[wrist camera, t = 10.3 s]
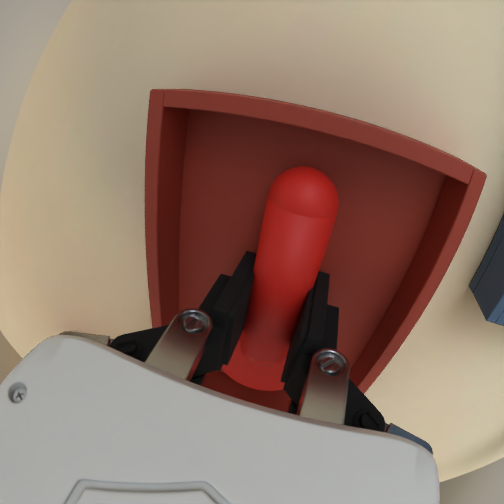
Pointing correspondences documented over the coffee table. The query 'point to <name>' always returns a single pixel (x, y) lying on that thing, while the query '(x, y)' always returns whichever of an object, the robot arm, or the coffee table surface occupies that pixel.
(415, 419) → the coffee table surface
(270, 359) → the red spoon
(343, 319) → the red tray
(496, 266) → the blue tray
